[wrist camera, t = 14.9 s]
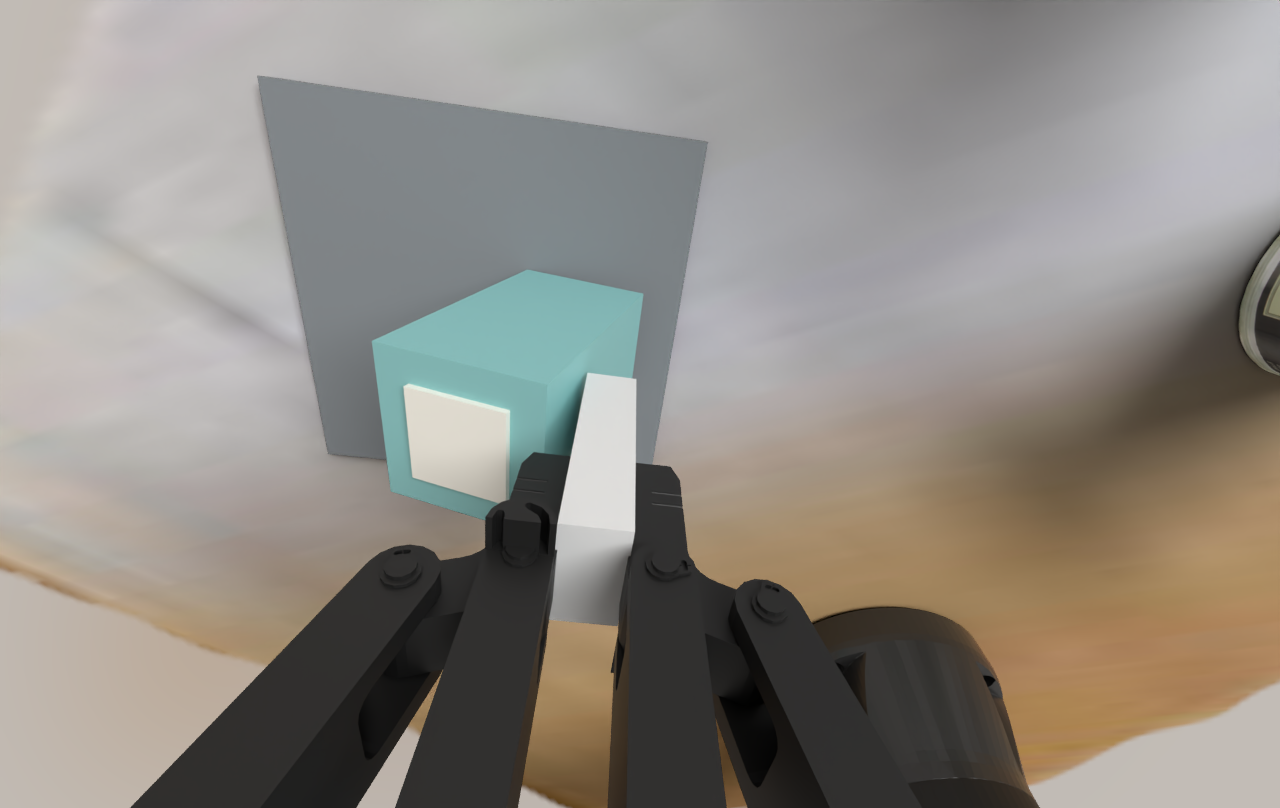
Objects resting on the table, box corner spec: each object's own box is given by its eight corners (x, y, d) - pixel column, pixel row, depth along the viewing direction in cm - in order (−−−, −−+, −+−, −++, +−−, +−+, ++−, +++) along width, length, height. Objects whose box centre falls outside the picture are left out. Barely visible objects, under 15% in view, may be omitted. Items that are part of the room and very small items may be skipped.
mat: (648, 479, 27) (648, 486, 27) (334, 447, 26) (327, 453, 26) (705, 141, 20) (708, 142, 19) (268, 76, 19) (257, 75, 18)
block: (628, 404, 23) (536, 541, 15) (524, 377, 24) (386, 495, 16) (643, 293, 21) (544, 387, 13) (527, 269, 21) (365, 343, 14)
